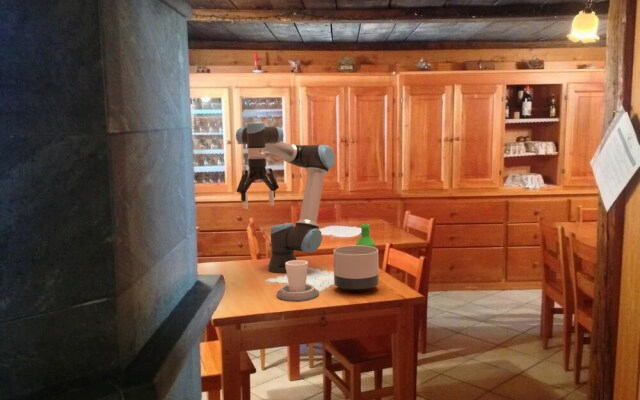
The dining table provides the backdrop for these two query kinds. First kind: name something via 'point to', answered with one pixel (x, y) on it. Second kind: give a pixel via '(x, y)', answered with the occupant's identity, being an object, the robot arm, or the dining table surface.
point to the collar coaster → (297, 293)
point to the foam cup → (296, 275)
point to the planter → (356, 267)
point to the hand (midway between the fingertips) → (258, 207)
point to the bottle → (365, 236)
